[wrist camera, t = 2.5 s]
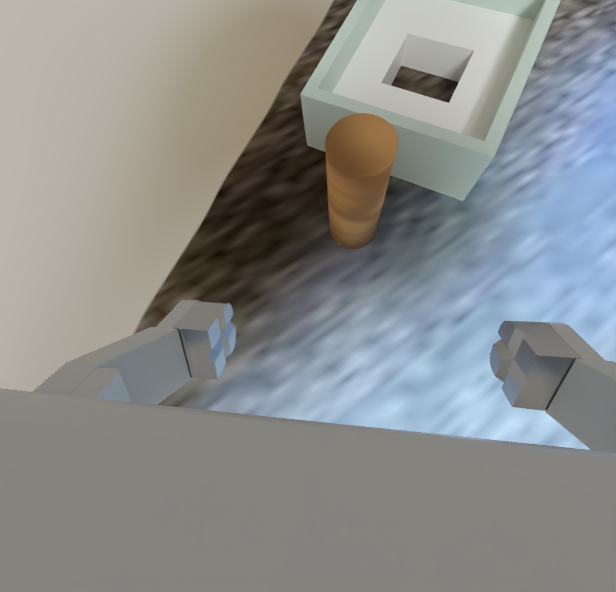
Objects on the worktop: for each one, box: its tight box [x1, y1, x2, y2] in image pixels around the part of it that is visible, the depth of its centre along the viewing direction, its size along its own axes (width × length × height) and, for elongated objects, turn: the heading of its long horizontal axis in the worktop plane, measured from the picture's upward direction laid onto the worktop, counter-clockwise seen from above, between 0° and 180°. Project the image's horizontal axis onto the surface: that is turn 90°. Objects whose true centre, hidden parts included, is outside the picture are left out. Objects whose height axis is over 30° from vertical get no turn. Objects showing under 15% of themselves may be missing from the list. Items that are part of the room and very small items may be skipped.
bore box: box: [300, 0, 561, 201], centre depth 27 cm, size 18×15×6 cm
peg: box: [325, 113, 398, 249], centre depth 22 cm, size 4×4×10 cm
